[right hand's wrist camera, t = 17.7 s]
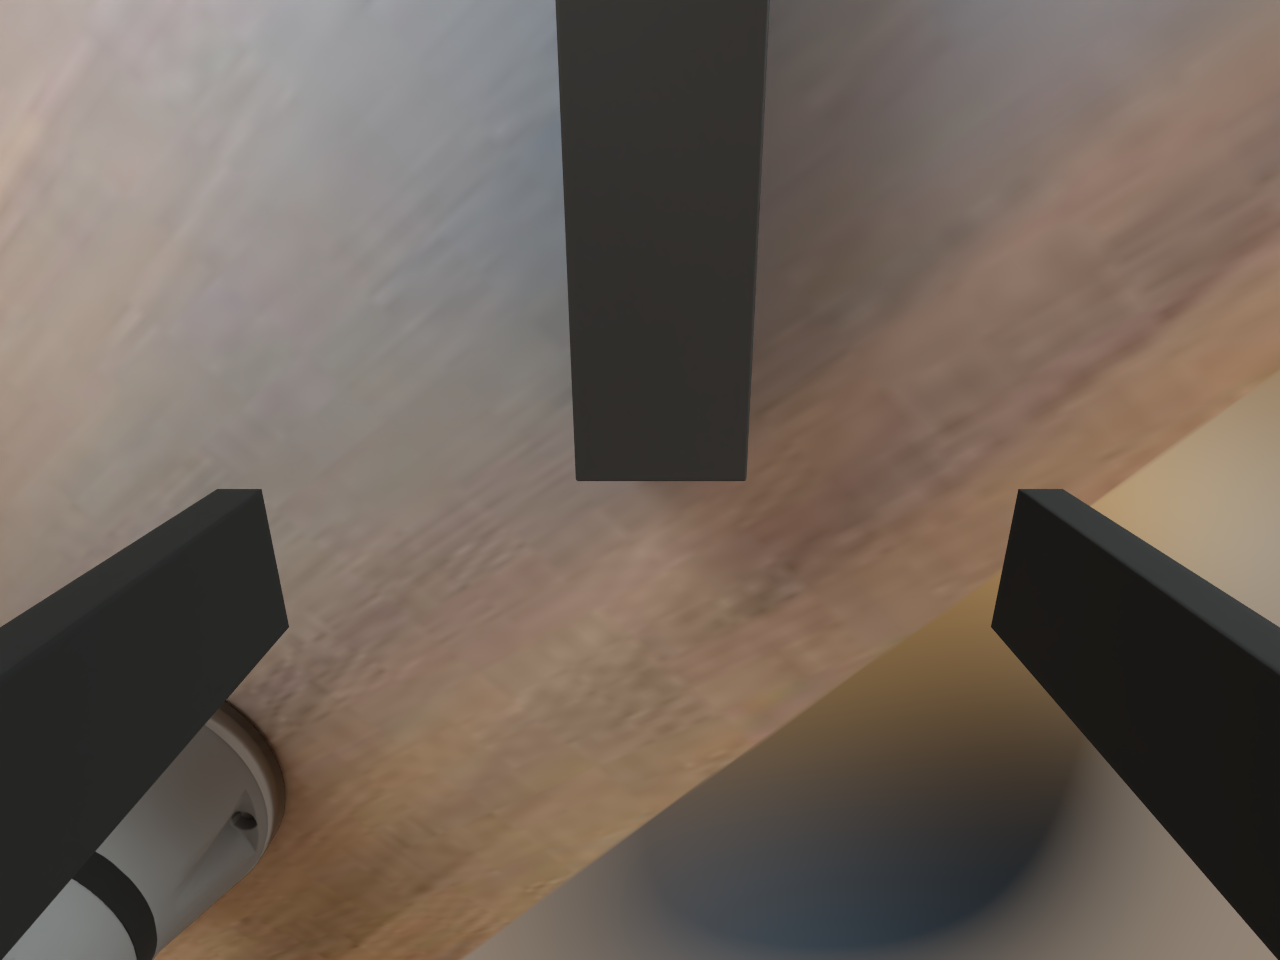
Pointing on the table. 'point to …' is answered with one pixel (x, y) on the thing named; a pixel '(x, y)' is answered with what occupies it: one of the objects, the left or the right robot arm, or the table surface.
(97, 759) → the right robot arm
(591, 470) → the bar
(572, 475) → the table surface
